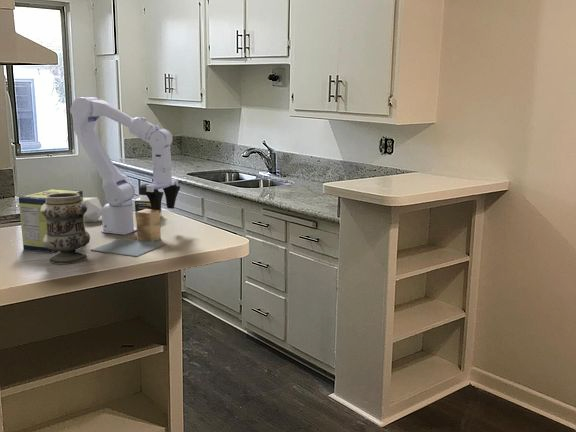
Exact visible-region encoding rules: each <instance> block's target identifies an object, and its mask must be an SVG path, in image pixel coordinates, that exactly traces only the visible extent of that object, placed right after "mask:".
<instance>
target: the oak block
mask: <svg viewBox="0 0 576 432" xmlns="http://www.w3.org/2000/svg"><path fill="white" fill-rule="evenodd" d="M135 220H136V228H137V231H136V236H137V239H136V240H140V241H148V242H156V241H158V240H161V238H162V237H161V217H160V210H152V209H144V210H141V211H138V212H136V214H135Z"/></svg>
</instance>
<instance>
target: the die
mask: <svg viewBox="0 0 576 432" xmlns="http://www.w3.org/2000/svg"><path fill="white" fill-rule="evenodd" d="M83 202H84V203H85V204H86V205H87V211H86V213H84V220H85V223H86V222H87V223H90V222H91V223H92V222H93V223H95V222H97V221H98V220H99V219H100V217H102V209H103V206H102V204H101V202H100V199H99V197H83Z"/></svg>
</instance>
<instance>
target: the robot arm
mask: <svg viewBox="0 0 576 432" xmlns="http://www.w3.org/2000/svg"><path fill="white" fill-rule="evenodd" d="M69 112H70V114H71V115H72V123H73V125H72V126H73V131H74V133H75V135H76V137H77V139H78V140H79V142H80V144H81V145H82V147H83V149H84V151H85V153H86V154H87V156H88V158H89V159H90V160H91V162H92V164H93V166H94V167H95V169H96V171H97V173H98V175H99V176H100V178H101V179H102V186H101V187H102V190H103V193H104V198H105V201H106V202H107V203H105V204H104V206H102V208H103V209H102V214H101V223H102V230H101V231H100V232H101V233H107V234H115V235H123V236H126V235H128V234H131V233H133V232H134V233H135V232H137V227H135V225H134V224H135V223H134V209H133V206H134V205H133V198H134V196H135V195H136V192H135V191H136V190H135V187H134V185H133V184H132V183H131V182H129V181H128V179H126V176H124V175H122V174H121V173H120V172H119V171H118V169H117V168H116V166H115V164H114V162H113V160H112V159H111V157H110V155H109V154H108V152H107V151H106V150H107V149H105V147H104V145H103V144H102V142H101V140H100V138H99V137H98V135H97V133H96V132H95V126H96V122H97V121H98V120H99V119H100V117H107V118H108V119H111V120H113V122H116V123H119V124H120V125H123V126H124V127H126V128H127V129H128V131H129V133H130V134H132V135H134V136H135V137H136V138H139V139H141V140H143V141H144V142H146V143H148V145H149V146H150V147H151V157H152V161H151V162H152V180H153V181H152V182H151V183H148V184H149V185H147V191H145V194H146V195H147V197H148V199H149V201H150V203H151V206H152V209H153V210H160V212H161V209H162V200H163V199H162V198H163V195H164V196H165V203H166V208H167V209H169V210H170V209H172V210H173V209H175V206H176V205H175V204H176V201H177V197H178V193H179V191H180V190H181V186H180V185H179V179H178V178H172V176H173V175H172V154H171V145H172V143H173V140H174V139H173V138H174V137H173V134H172V133H171V132H170V130H168V129H167V128H160V125H158V124H153V123H151V122H149V121H148V120H147V118H146V117H145V116H141V117H140V116H136V117H132V116H130V115H129V114H127V113H126V112H124V111H123V110H120V108H117V107H115V106H114V105H113V104H111V103H109V102H107V101H106V100H103V99H101V98H99V97H98V96H97V97H96V96H91V97H83V96H81V97H76V98H75V99H74V100H73V101H72V103H71V105H70V109H69ZM162 189H163V191H160V190H162Z"/></svg>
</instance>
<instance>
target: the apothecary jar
mask: <svg viewBox="0 0 576 432" xmlns="http://www.w3.org/2000/svg"><path fill="white" fill-rule="evenodd" d="M86 211H87V205H86V204H85V203H84V202H83V201H81V198H80V195H79V194H78V193H70V192H69V193H54V194H49V195H47V196H46V203H45V204H43V205H42V207H41V214H42V215H43V216H45V217H46V222H47V234H46V235H45V236H44V237H43V244H44V245H45V246H46V247H47V248H48V249H51V250H54V251H55V252H58V253H56V254H54V255H52V256H51V257H50V258H49V261H48V262H49V263H51V264H55V265H70V264H75V263H79V262H83V261H85V260H87V259H88V254H86V253H84V252H80V251H77V250H79V249H81V248H83V247H86V245H88V244H89V243H90V241H91V235H90V233H89V232H88V231H87V230H86V227H85V228H84V220H83V214H84V213H86Z"/></svg>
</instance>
